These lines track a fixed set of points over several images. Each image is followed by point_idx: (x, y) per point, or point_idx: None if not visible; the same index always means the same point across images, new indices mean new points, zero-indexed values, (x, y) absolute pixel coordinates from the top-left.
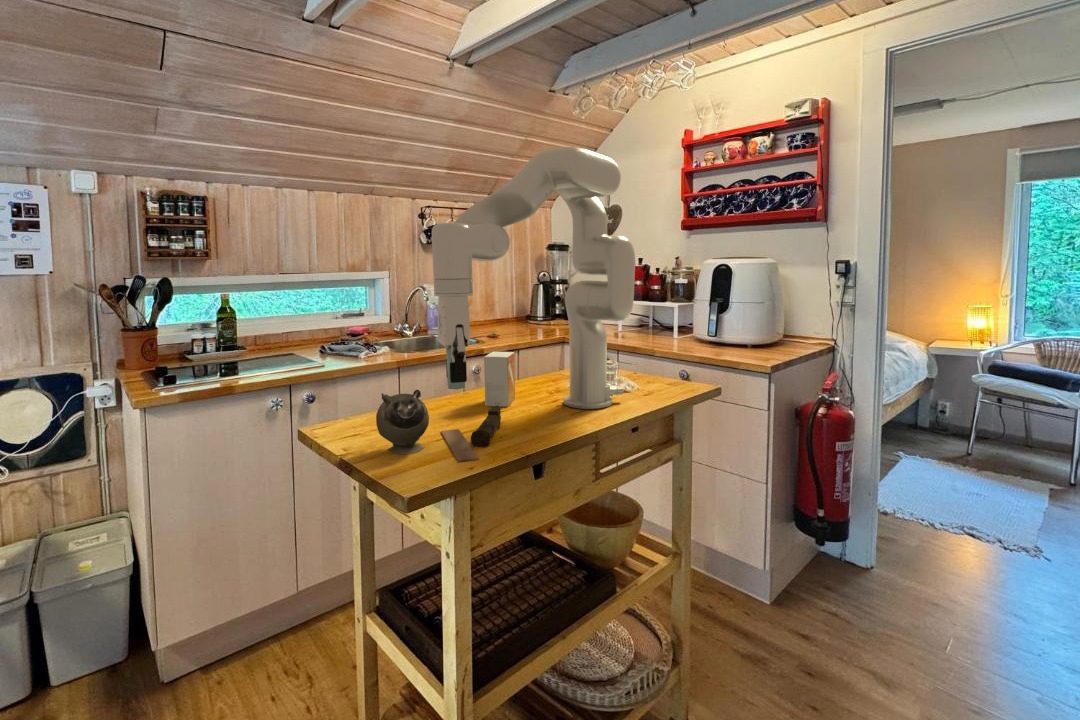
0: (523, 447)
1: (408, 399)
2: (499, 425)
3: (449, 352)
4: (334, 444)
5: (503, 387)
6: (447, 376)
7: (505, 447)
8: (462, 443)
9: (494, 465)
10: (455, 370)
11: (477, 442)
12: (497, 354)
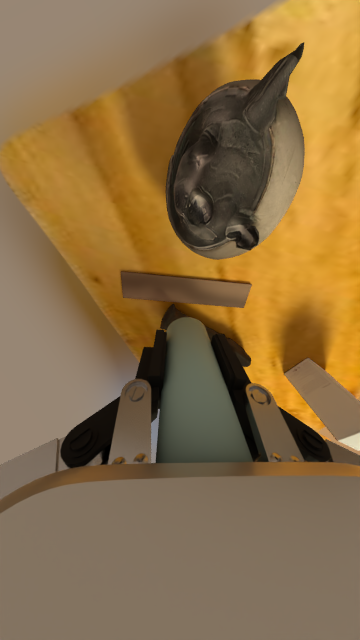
0: None
1: (213, 195)
2: None
3: (175, 424)
4: (338, 21)
5: (304, 390)
6: (217, 336)
7: (155, 333)
8: (185, 295)
9: (100, 306)
10: (139, 364)
11: (167, 310)
12: None
